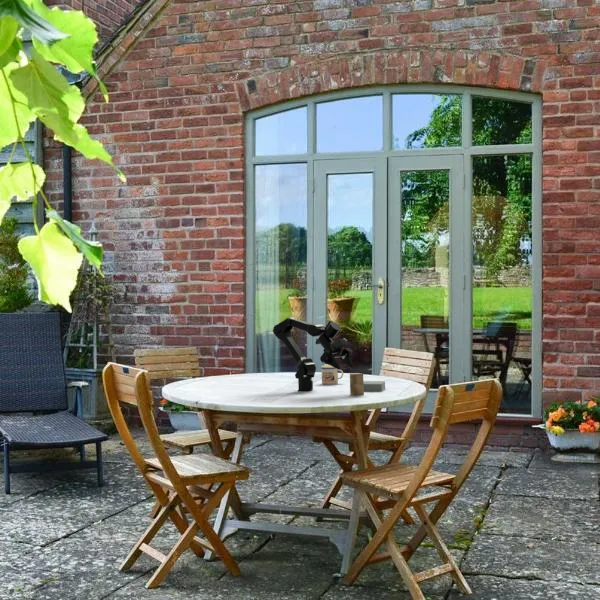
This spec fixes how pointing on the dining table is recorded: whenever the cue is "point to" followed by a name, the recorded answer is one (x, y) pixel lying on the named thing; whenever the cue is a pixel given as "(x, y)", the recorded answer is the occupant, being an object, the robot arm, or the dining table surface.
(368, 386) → the gray box
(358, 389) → the bronze block
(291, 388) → the dining table surface
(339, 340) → the robot arm
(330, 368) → the teacup with lid
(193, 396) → the dining table surface
